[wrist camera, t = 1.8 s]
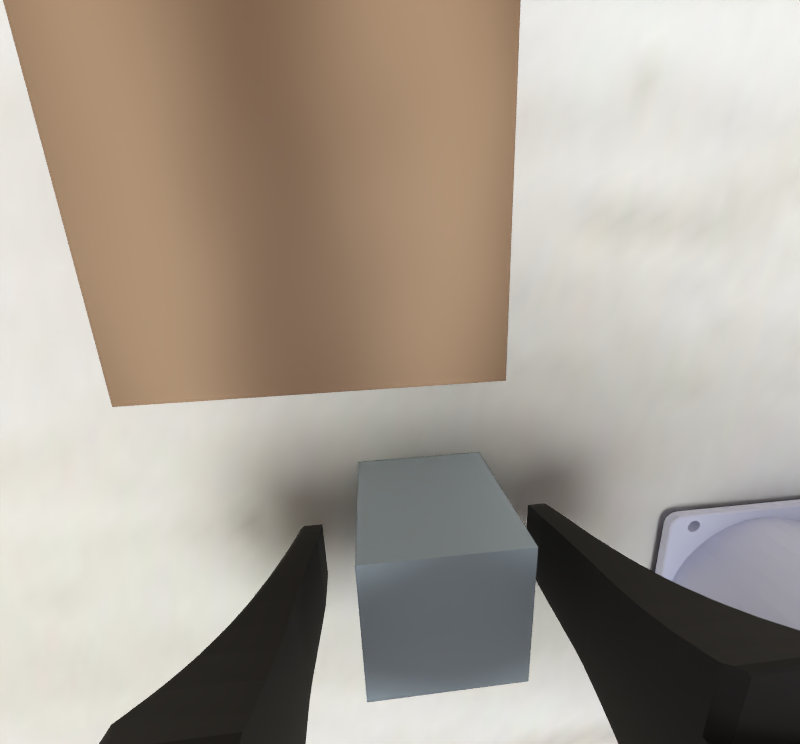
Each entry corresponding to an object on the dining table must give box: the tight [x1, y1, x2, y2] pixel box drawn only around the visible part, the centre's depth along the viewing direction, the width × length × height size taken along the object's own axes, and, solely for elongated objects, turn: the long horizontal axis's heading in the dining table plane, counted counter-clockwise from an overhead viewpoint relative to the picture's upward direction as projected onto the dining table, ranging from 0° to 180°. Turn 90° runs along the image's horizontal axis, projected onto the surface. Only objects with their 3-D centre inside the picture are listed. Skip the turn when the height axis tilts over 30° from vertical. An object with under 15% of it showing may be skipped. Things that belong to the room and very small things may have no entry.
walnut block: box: [3, 0, 520, 407], centre depth 10 cm, size 10×10×3 cm
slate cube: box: [355, 452, 538, 702], centre depth 12 cm, size 4×4×5 cm
